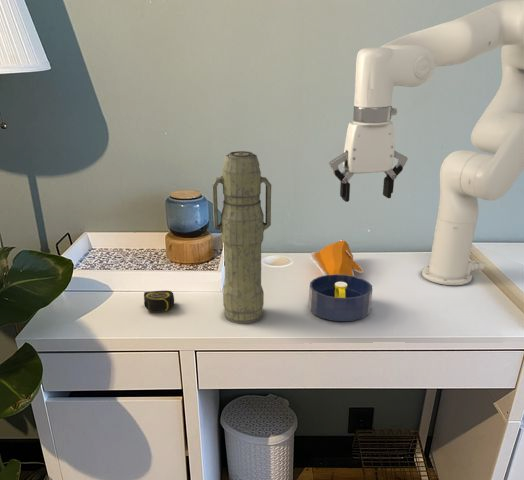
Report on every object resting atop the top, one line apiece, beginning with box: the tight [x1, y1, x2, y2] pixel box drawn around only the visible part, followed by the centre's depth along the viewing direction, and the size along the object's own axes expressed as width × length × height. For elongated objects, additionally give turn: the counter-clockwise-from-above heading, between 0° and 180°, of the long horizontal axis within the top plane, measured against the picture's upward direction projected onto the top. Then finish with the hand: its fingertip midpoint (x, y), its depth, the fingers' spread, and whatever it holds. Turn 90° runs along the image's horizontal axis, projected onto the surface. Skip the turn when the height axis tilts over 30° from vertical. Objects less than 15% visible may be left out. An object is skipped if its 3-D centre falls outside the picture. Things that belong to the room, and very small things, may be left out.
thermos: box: [211, 150, 272, 325], centre depth 117 cm, size 9×12×35 cm
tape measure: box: [143, 290, 175, 313], centre depth 127 cm, size 7×7×4 cm
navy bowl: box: [308, 274, 373, 322], centre depth 127 cm, size 14×14×6 cm
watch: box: [335, 282, 347, 298], centre depth 126 cm, size 6×3×6 cm, turn 3°
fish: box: [309, 239, 365, 277], centre depth 144 cm, size 7×27×15 cm
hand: (366, 198), depth 123 cm, fingers open, 9 cm apart
